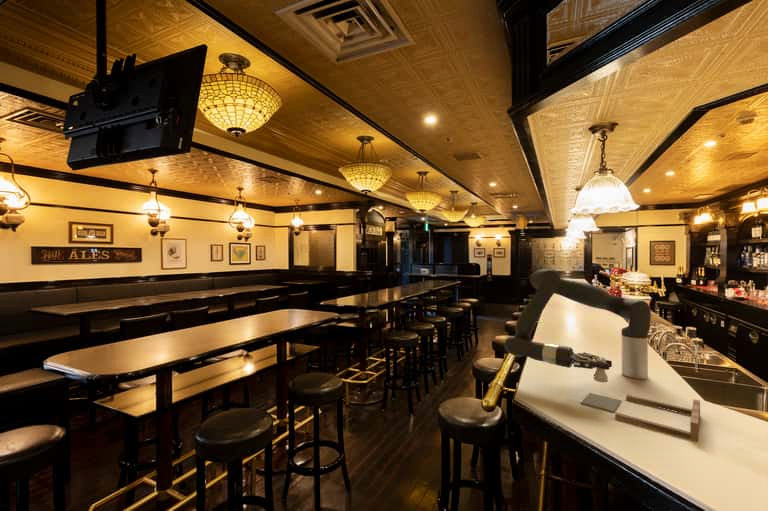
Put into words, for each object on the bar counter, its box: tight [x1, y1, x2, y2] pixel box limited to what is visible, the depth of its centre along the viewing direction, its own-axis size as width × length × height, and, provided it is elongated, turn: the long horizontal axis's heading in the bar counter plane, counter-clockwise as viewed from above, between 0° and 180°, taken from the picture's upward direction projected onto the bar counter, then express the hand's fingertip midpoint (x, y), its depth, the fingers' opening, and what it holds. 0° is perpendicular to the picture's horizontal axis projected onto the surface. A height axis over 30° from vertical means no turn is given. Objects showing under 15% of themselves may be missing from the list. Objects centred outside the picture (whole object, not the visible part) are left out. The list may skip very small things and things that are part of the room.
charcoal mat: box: [580, 392, 622, 414], centre depth 121 cm, size 12×10×1 cm
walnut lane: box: [614, 394, 701, 442], centre depth 110 cm, size 21×20×5 cm
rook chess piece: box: [593, 356, 609, 383], centre depth 121 cm, size 4×4×8 cm
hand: (610, 365), depth 119 cm, fingers closed on rook chess piece, 3 cm apart
